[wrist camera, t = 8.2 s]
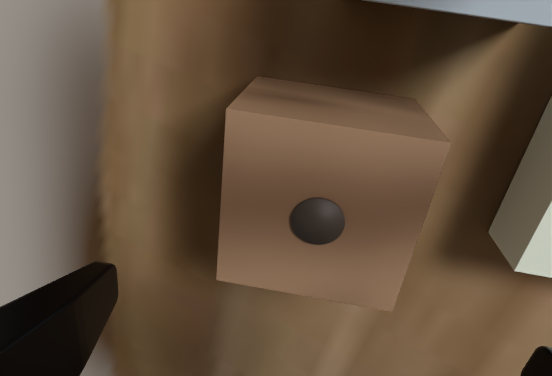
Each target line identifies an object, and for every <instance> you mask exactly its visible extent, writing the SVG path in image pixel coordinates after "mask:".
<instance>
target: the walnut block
mask: <svg viewBox="0 0 552 376" xmlns="http://www.w3.org/2000/svg"><path fill="white" fill-rule="evenodd" d="M450 146H451V142H450V141H449V139H448V138H447V137H446V136H445V135H444V133H443V132H442V131H441V130H440V129H439V127H438V126H437V125H436V124H435V123H434V121H433V120H432V119H431V118H430V117H429V116H428V114H427V113H426V112H425V111H424V110H423V108H422V107H421V106H420V105H419V104H418V102H417V101H416V100H415V99H411V98H404V97H398V96H391V95H384V94H377V93H370V92H363V91H356V90H350V89H343V88H336V87H329V86H322V85H315V84H308V83H302V82H295V81H288V80H281V79H274V78H267V77H260V76H257V77H256V78H255V79H254V80H253V81H252V82H251V83H250V84H249V85H248V86H247V87H246V88H245V89H244V90H243V91H242V93H241V94H240V95H239V96H238V97H237V98H236V99H235V100H234V101H233V102H232V103H231V104H230V105H229V106H228V107H227V108H226V119H225V137H224V154H223V172H222V189H221V207H220V224H219V242H218V259H217V277H216V280H219V281H224V282H230V283H235V284H241V285H246V286H252V287H257V288H263V289H268V290H274V291H279V292H285V293H290V294H296V295H301V296H307V297H313V298H318V299H324V300H329V301H335V302H340V303H346V304H351V305H357V306H362V307H368V308H373V309H379V310H384V311H390V312H392V311H393V309H394V306H395V303H396V300H397V297H398V294H399V291H400V289H401V286H402V283H403V280H404V277H405V274H406V272H407V269H408V266H409V263H410V260H411V257H412V254H413V252H414V249H415V246H416V243H417V240H418V237H419V234H420V232H421V229H422V226H423V223H424V220H425V217H426V214H427V212H428V209H429V206H430V203H431V200H432V197H433V194H434V192H435V189H436V186H437V183H438V180H439V177H440V175H441V172H442V169H443V166H444V163H445V160H446V157H447V155H448V152H449V149H450Z"/></svg>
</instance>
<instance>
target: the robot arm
mask: <svg viewBox="0 0 552 376" xmlns="http://www.w3.org/2000/svg"><path fill="white" fill-rule="evenodd" d="M117 298H118V282H117V270H116V267H115V265H113V264H111V263H106V262H100V261H95V262H93V263H90V264H88V265H86V266H84V267H82V268H80V269H78V270H76V271H74V272H72V273H70V274H68V275H65V276H63V277H61V278H59V279H57V280H55V281H53V282H51V283H49V284H47V285H45V286H43V287H41V288H38V289H36V290H34V291H32V292H30V293H28V294H26V295H24V296H22V297H20V298H18V299H16V300H14V301H12V302H10V303H7V304H6V305H3V306H1V307H0V376H80V374H81V372H82V370H83V369H84V367H85V365H86V363H87V361H88V359H89V357H90V355H91V353H92V351H93V349H94V347H95V345H96V343H97V341H98V339H99V337H100V335H101V333H102V331H103V328H104V327H105V325H106V323H107V321H108V319H109V316H110V314H111V312H112V310H113V308H114V306H115V304H116V302H117ZM521 376H552V348H551V347H546V346H540V347H538V348H536V350H535V351H534V353H533V354H532V356H531V357H530V359H529V360H528V362H527V363H526V365H525V367H524V368H523V370H522V372H521Z"/></svg>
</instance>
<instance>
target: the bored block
mask: <svg viewBox="0 0 552 376" xmlns="http://www.w3.org/2000/svg"><path fill="white" fill-rule="evenodd" d="M363 1H370V2H377V3H384V4H391V5H398V6H405V7H411V8H418V9H425V10H432V11H439V12H446V13H453V14H460V15H467V16H473V17H480V18H487V19H494V20H501V21H508V22H515V23H522V24H530V25H537V26H545V27H552V0H363Z"/></svg>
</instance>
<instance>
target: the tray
mask: <svg viewBox="0 0 552 376" xmlns="http://www.w3.org/2000/svg"><path fill="white" fill-rule="evenodd" d="M488 233H489V234H490V236H491V237H492V239H493V240H494V242H495V243H496V245H497V246H498V248H499V249H500V251H501V252H502V254H503V255H504V257H505V258H506V260H507V261H508V263H509V264H510V265H511V267H512V268H513V270H514V271H517V272H522V273H528V274H533V275H539V276H545V277H550V278H552V96H551V98H550V100H549V102H548V104H547V107H546V109H545V111H544V113H543V115H542V117H541V119H540V122H539V124H538V126H537V128H536V130H535V132H534V135H533V137H532V139H531V141H530V143H529V145H528V147H527V150H526V152H525V154H524V156H523V158H522V160H521V162H520V165H519V167H518V169H517V171H516V173H515V175H514V177H513V180H512V182H511V184H510V186H509V188H508V190H507V192H506V195H505V197H504V199H503V201H502V203H501V205H500V208H499V210H498V212H497V214H496V216H495V218H494V220H493V223H492V225H491V227H490V229H489V231H488Z"/></svg>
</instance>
